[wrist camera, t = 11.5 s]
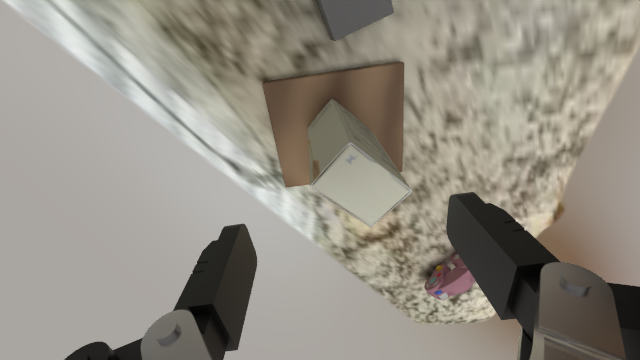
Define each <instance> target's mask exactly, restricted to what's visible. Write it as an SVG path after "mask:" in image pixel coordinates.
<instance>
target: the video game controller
mask: <svg viewBox="0 0 640 360" xmlns="http://www.w3.org/2000/svg"><path fill="white" fill-rule="evenodd" d="M451 262H452V263H453V264H454V265H455V266H456V267H455V268H454V269H453V270H451V269H450V268H449V267H448V266H447V265H446V264H445V263H442V264H440V265H438V266H437V267H436V268H435V270H434V272H433V274H432V276H431V277H430V278H429V279H428V280H427V282H426V283H425V289H426V291H427V292H428V293H429V294H430V295H432V296H433V297H435V298H437V299H439V300H446V299H447V297H449V296H453V295H456V294H459V293H463V292H465V291H467V290H468V289H469V288H470V287H471V286H472V285H473V283H474V282H475V281H476V280H475V279H474V277H473V276H472V274H471V273H470V271H469V270H468V268H467V267H466V265H465V264H464V262H463V261H462V259H461V258H460V256H459V255H458V253H455V254H454V255H453V256H452V258H451Z"/></svg>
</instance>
